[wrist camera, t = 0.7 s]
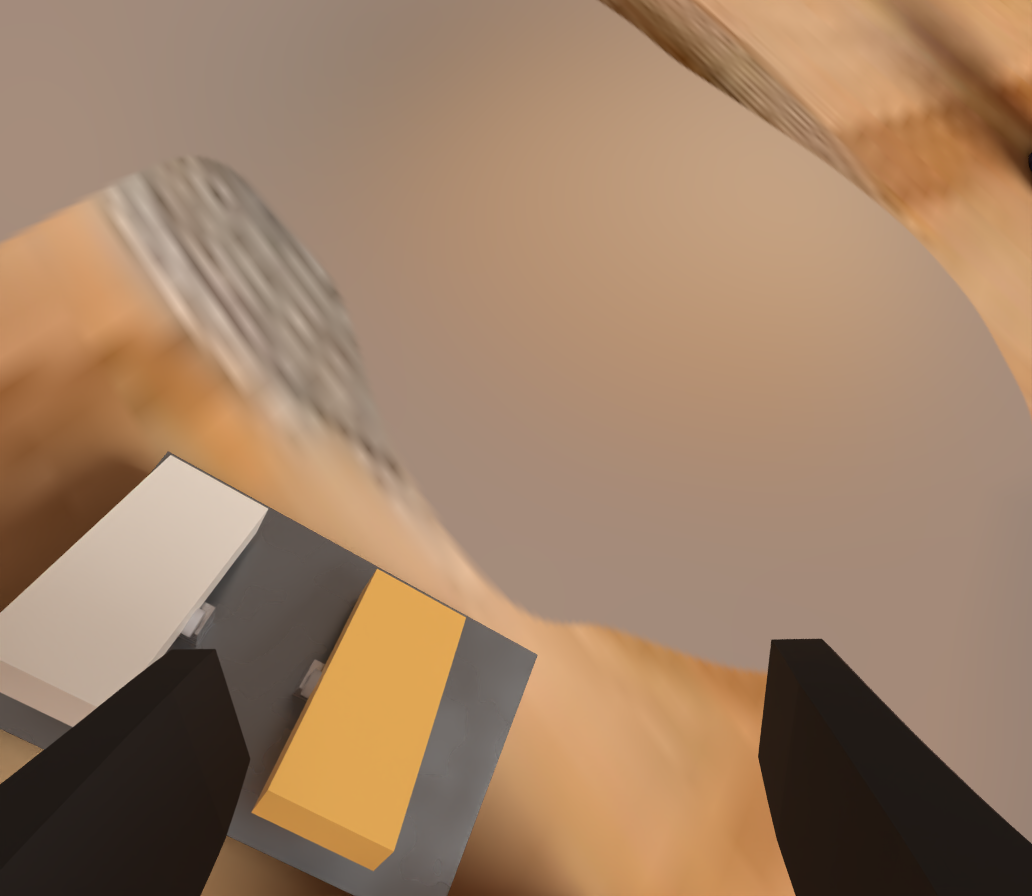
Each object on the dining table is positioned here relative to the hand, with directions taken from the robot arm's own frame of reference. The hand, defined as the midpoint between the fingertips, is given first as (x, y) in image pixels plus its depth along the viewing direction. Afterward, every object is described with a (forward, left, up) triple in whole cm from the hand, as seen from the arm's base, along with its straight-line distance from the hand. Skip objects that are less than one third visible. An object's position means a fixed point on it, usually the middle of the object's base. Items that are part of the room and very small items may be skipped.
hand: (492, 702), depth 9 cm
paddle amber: (+1, 0, -10) cm, 10 cm away
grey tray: (+1, +2, -15) cm, 15 cm away
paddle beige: (+1, +6, -10) cm, 12 cm away
